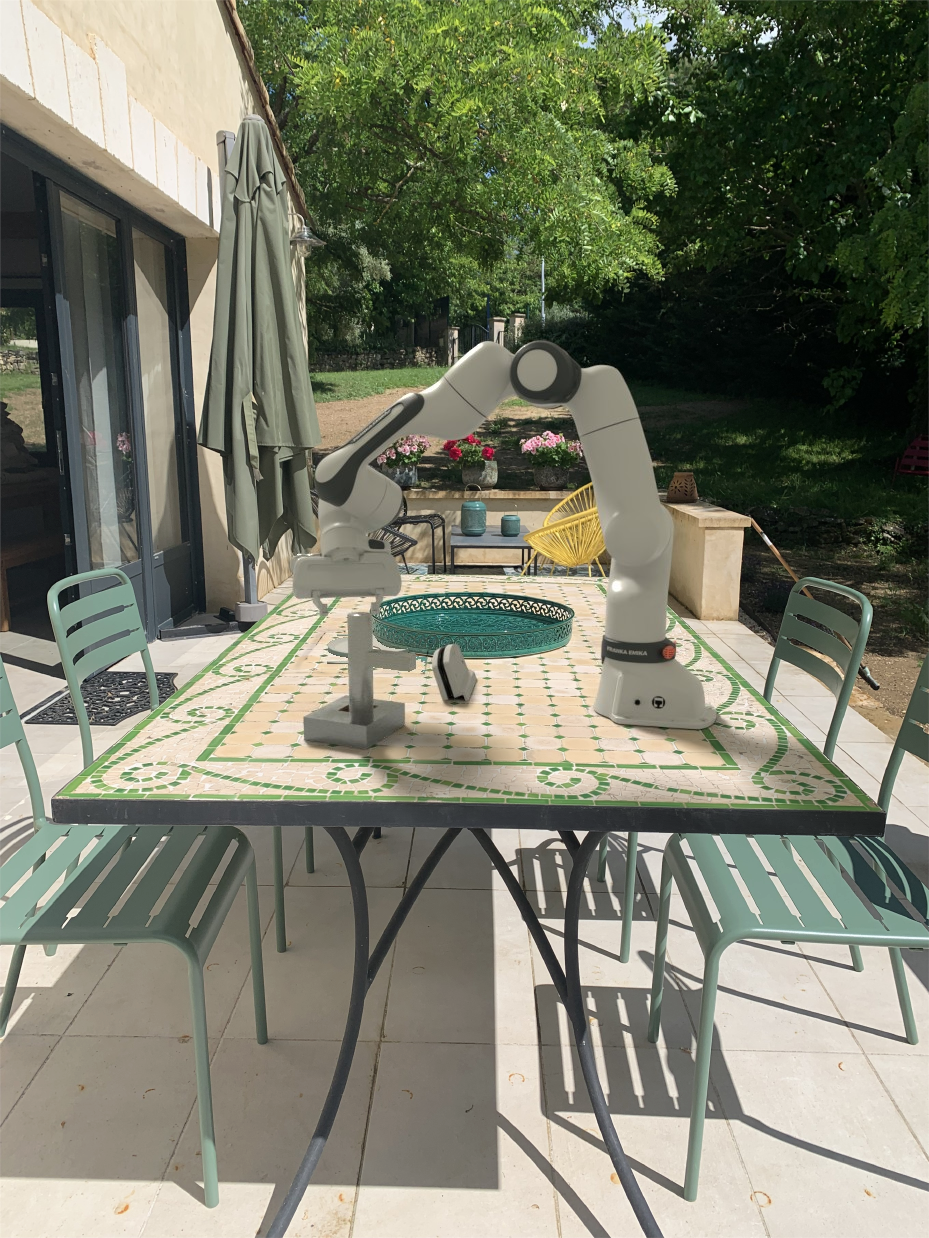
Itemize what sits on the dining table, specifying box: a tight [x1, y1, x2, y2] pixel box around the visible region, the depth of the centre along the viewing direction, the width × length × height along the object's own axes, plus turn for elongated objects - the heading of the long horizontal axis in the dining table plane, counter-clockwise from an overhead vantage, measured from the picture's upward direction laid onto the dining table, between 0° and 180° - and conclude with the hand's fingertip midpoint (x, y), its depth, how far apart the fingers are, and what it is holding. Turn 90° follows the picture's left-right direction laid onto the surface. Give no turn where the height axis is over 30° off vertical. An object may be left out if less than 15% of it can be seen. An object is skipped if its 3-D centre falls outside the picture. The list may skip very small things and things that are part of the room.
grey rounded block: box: [431, 643, 478, 702], centre depth 182 cm, size 17×5×10 cm, turn 173°
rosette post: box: [302, 611, 416, 750], centre depth 152 cm, size 20×14×22 cm
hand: (349, 613), depth 165 cm, fingers open, 8 cm apart
